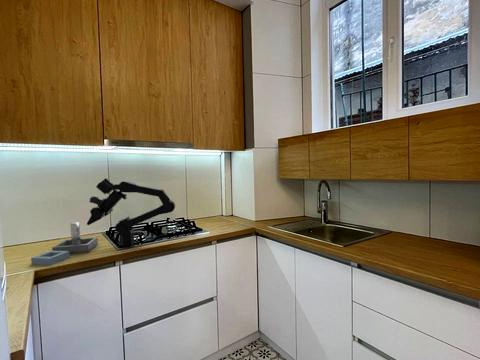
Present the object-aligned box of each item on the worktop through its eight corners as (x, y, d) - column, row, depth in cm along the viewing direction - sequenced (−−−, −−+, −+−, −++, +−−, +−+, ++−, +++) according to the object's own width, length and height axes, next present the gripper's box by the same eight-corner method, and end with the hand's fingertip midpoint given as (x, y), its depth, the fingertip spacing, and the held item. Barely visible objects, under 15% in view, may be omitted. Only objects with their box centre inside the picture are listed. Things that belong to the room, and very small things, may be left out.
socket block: (69, 257, 125) (69, 251, 125) (51, 265, 115) (50, 258, 115) (51, 256, 127) (50, 250, 126) (31, 264, 117) (31, 257, 117)
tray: (98, 244, 145) (97, 237, 145) (88, 252, 131) (88, 244, 131) (65, 247, 142) (65, 239, 142) (52, 255, 128) (52, 247, 128)
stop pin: (82, 247, 137) (80, 222, 136) (73, 249, 134) (72, 224, 133) (79, 246, 139) (77, 221, 139) (70, 248, 136) (68, 223, 136)
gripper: (105, 188, 147) (84, 209, 145) (93, 191, 128) (69, 215, 127) (121, 201, 149) (101, 222, 147) (111, 206, 130) (89, 230, 129)
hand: (90, 222), depth 137 cm, fingers open, 9 cm apart
